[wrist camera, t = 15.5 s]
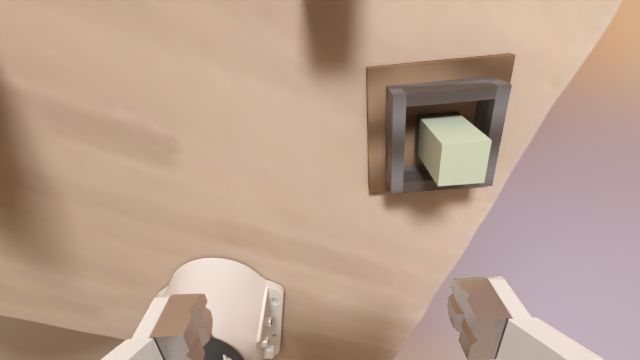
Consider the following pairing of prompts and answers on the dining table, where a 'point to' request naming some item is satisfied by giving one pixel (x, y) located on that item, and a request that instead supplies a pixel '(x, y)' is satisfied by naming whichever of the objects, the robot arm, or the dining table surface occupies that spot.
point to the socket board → (430, 97)
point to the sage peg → (451, 148)
